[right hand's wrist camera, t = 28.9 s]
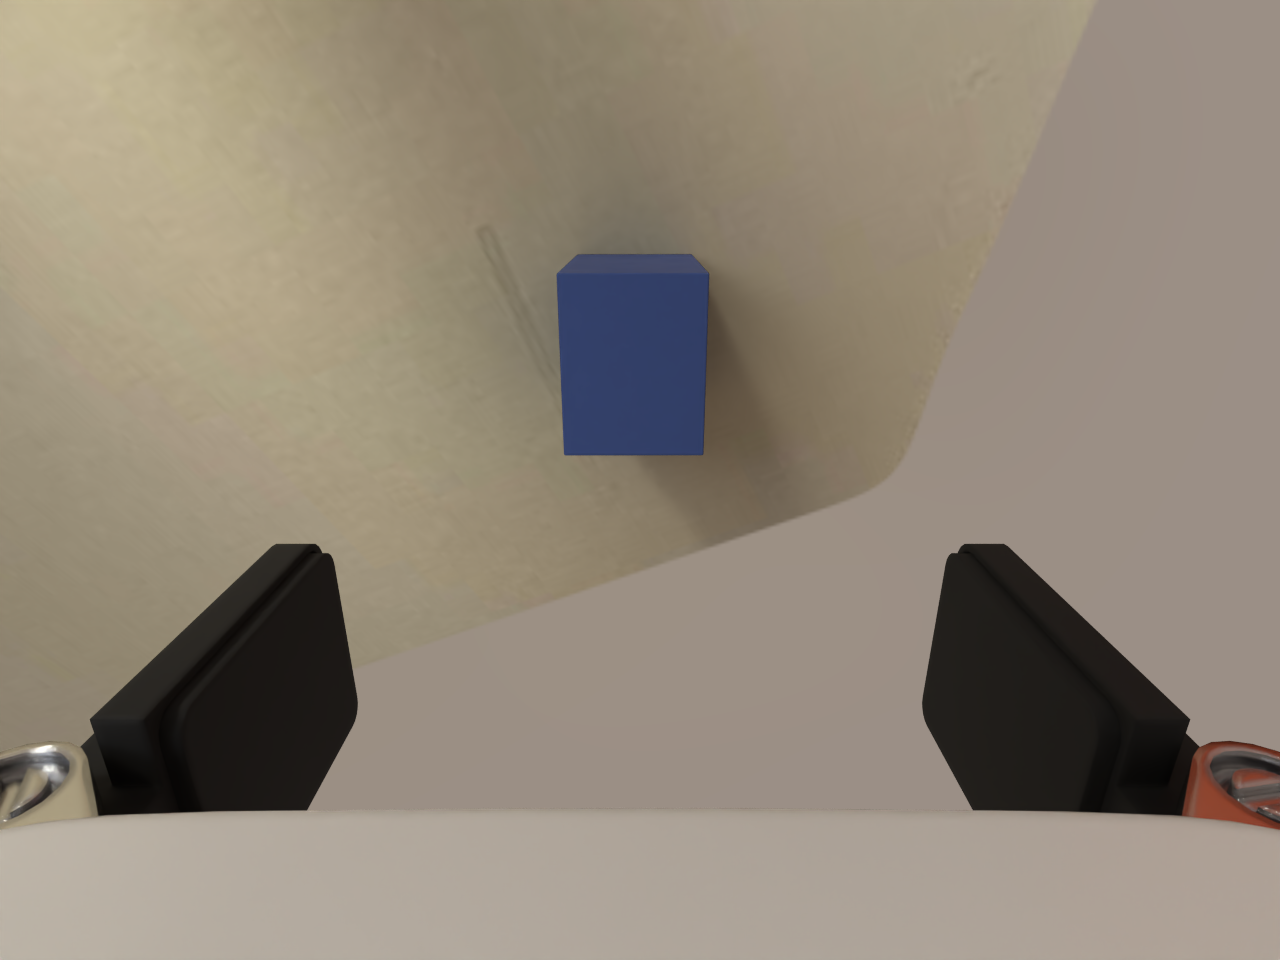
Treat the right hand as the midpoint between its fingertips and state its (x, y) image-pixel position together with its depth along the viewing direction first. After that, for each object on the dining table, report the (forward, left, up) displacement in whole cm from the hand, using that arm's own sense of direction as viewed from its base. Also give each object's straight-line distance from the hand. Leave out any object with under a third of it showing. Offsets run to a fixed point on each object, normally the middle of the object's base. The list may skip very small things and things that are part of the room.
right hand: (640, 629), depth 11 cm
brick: (0, +1, -25) cm, 25 cm away
